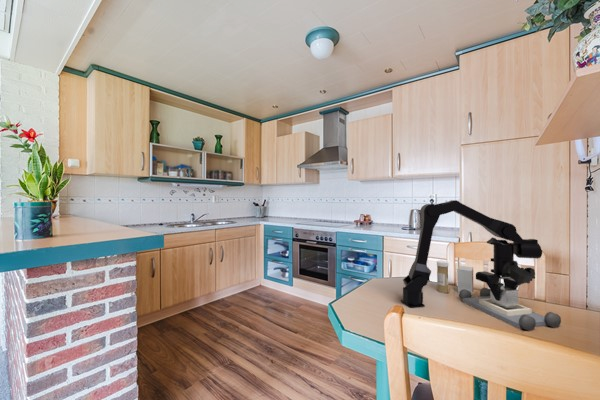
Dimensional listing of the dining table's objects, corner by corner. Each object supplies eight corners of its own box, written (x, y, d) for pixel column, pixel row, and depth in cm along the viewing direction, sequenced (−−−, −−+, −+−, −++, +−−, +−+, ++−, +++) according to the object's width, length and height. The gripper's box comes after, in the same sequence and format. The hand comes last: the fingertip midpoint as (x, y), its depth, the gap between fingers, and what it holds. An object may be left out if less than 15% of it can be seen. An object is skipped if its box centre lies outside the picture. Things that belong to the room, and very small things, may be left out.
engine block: (506, 308, 89) (506, 290, 89) (490, 301, 95) (490, 285, 95) (518, 306, 90) (517, 290, 90) (501, 300, 96) (501, 284, 96)
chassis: (524, 331, 78) (524, 317, 78) (459, 300, 103) (458, 289, 103) (561, 327, 81) (560, 313, 81) (488, 297, 106) (488, 287, 106)
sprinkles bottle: (451, 292, 112) (450, 262, 112) (442, 293, 111) (442, 262, 111) (443, 289, 116) (442, 260, 116) (434, 290, 115) (434, 260, 116)
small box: (472, 295, 109) (472, 271, 109) (457, 292, 112) (457, 268, 112) (473, 290, 115) (473, 267, 115) (459, 287, 118) (459, 265, 119)
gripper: (503, 263, 83) (503, 311, 83) (549, 260, 86) (549, 306, 86) (474, 256, 94) (474, 298, 94) (515, 254, 97) (516, 295, 97)
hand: (503, 299), depth 92 cm, fingers closed on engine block, 5 cm apart
